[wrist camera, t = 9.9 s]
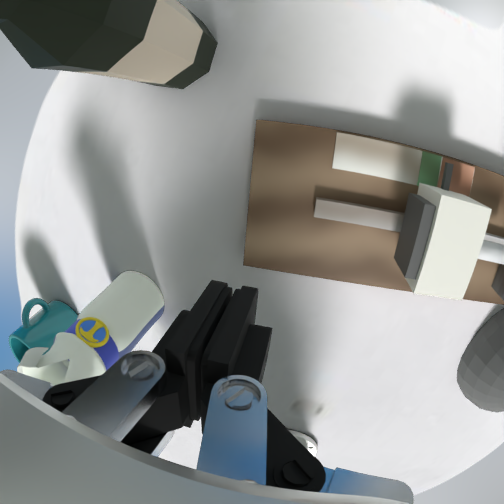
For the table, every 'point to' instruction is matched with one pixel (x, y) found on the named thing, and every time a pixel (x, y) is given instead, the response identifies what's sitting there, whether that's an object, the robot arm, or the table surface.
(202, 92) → the table surface
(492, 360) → the baseball cap
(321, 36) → the table surface
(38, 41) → the wine bottle
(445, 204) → the white block grey face
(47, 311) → the cup
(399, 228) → the base
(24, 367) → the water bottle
